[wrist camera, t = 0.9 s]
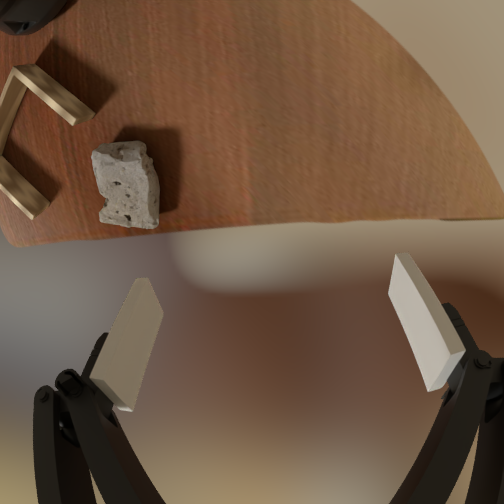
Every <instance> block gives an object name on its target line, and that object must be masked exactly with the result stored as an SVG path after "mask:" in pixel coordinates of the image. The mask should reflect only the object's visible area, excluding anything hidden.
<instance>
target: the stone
mask: <svg viewBox="0 0 504 504" xmlns="http://www.w3.org/2000/svg"><path fill="white" fill-rule="evenodd" d="M146 149H147V148H146V144H144V143H143V142H141V141H129V142H115V143H109V144H106V143H103V144H101V145H100V146H99V147H98V148H97V149H95V150H93V152H92V156H91V158H92V163H93V170H94V174H95V176H96V180H97V185H98V188H99V192H100V194H101V195H103V196H104V197H105V198H106V200H105V203H104V207H103V208H102V210H101V211H100V212H99V216H100V221H101V222H104V223H110V224H114V225H121V226H125V227H140V228H147V229H149V228H151V229H154V228H155V227H157V226H158V224H159V196H160V186H159V180H158V176H157V173H156V171H155V170H154V165H153V164H152V163H153V159H152V158H150V157H148V156H147V155H146Z"/></svg>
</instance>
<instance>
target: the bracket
mask: <svg viewBox="0 0 504 504" xmlns="http://www.w3.org/2000/svg"><path fill="white" fill-rule="evenodd" d="M27 87H28V88H29V89H31V90H32V91H33V92H34V93H35V94H36V95H37V96H39V97H40V98H41V99H42V100H43V101H44V102H45V103H47V104H48V105H49V106H50V107H51V108H52V109H54V110H55V111H56V112H57V113H58V114H59V115H61V116H62V117H63V118H64V119H65V120H66V121H68V122H69V123H70V124H71V125H72V126H73V125H76V124H79V123H82V122H85V121H88V120H91V119H93V117H94V115H95V114H96V113H95V112H93V111H92V110H91V109H90V108H89V107H87V106H86V105H85V104H84V103H82V102H81V101H80V100H79V99H77V98H76V97H75V96H74V95H73V94H71V93H70V92H69V91H68V90H66V89H65V88H64V87H63V86H61V85H60V84H59V83H58V82H57V81H55V80H54V79H53V78H52V77H50V76H49V75H48V74H47V73H45V72H44V71H43V70H42V69H40V68H39V67H38V66H37V65H35V64H27V65H18V66H13V68H12V70H11V73H10V75H9V77H8V79H7V82H6V84H5V87H4V89H3V92H2V94H1V97H0V189H1V190H2V191H3V192H4V193H5V194H6V195H7V196H8V197H9V198H10V199H11V200H12V201H13V202H14V203H15V204H16V205H17V206H18V207H19V208H20V209H21V210H22V211H23V212H24V213H25V214H26V215H27V216H28V217H29V218H30V219H31V220H33V219H34V218H36V217H37V216H38V215H39V214H40V213H42V212H43V211H44V210H45V209H46V208H48V207H49V205H50V202H49V201H48V200H47V199H46V198H45V197H44V196H43V195H42V194H41V193H40V192H38V191H37V190H36V189H35V188H34V187H33V186H32V185H31V184H30V183H29V182H28V181H27V180H26V179H25V178H24V177H23V176H22V175H21V174H20V173H19V172H18V171H17V170H16V169H15V168H14V167H13V166H12V165H11V164H10V163H9V162H8V161H7V160H6V159H5V158H4V157H3V156H2V153H3V149H4V146H5V143H6V140H7V137H8V134H9V131H10V128H11V125H12V123H13V120H14V117H15V115H16V112H17V110H18V107H19V105H20V103H21V100H22V98H23V96H24V93H25V91H26V89H27Z"/></svg>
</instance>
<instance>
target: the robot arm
mask: <svg viewBox="0 0 504 504" xmlns="http://www.w3.org/2000/svg"><path fill="white" fill-rule="evenodd" d="M66 2H67V0H0V30H1V31H3V32H5V33H7V34H9V35H29V34H32V33H34V32H36V31H38V30H40V29H41V28H42V27H44V26H45V25H46V24H48V23H49V22H50V21H51V20H52V19H53V18H54V17H55V16H56V15H57V13H58V12H59V11H60V10H61V9H62V7H63V6H64V4H65V3H66ZM388 295H389V297H390V299H391V301H392V303H393V305H394V308H395V310H396V312H397V314H398V317H399V319H400V321H401V324H402V326H403V328H404V330H405V333H406V335H407V338H408V340H409V343H410V345H411V348H412V350H413V353H414V355H415V358H416V360H417V363H418V366H419V368H420V371H421V374H422V376H423V379H424V382H425V385H426V388H427V391H428V392H429V391H432V390H436V389H439V388H442V387H443V385H444V384H445V383H446V381H447V382H448V384H449V388H448V389H447V391H446V392H445V393H444V395H443V396H442V398H441V399H443V398H444V400H443V402H442V405H441V407H440V410H439V412H438V415H437V417H436V419H435V422H434V424H433V426H432V428H431V430H430V433H429V435H428V437H427V439H426V441H425V443H424V445H423V447H422V449H421V451H420V453H419V455H418V457H417V459H416V461H415V463H414V464H413V466H412V468H411V469H410V471H409V473H408V475H407V476H406V478H405V480H404V481H403V483H402V485H401V486H400V488H399V489H398V491H397V493H396V494H395V496H394V497H393V499H392V500H391V502H390V503H389V504H445V503H446V501H447V499H448V498H449V496H450V494H451V492H452V490H453V488H454V486H455V484H456V482H457V480H458V477H459V475H460V473H461V471H462V469H463V466H464V464H465V461H466V459H467V456H468V454H469V451H470V448H471V446H472V444H473V441H474V437H475V435H476V432H477V429H478V426H479V433H478V441H477V449H476V455H475V461H474V466H473V472H472V476H471V481H470V485H469V489H468V493H467V497H466V501H465V504H504V358H492V357H491V356H490V355H489V354H488V353H487V352H485V351H482V350H479V348H478V347H477V345H476V343H475V341H474V339H473V337H472V336H471V334H470V332H469V331H468V328H467V327H466V326H465V323H464V321H463V320H462V319H461V316H460V315H459V313H458V311H457V310H456V309H455V308H454V307H453V306H452V305H451V304H450V303H444V304H441V303H440V302H439V300H438V298H437V297H436V295H435V293H434V292H433V290H432V288H431V287H430V285H429V284H428V282H427V280H426V279H425V277H424V276H423V274H422V273H421V271H420V269H419V268H418V266H417V265H416V263H415V262H414V261H413V259H412V258H411V256H410V255H409V253H398V254H395V260H394V266H393V272H392V277H391V283H390V288H389V292H388ZM163 315H164V313H163V311H162V308H161V306H160V304H159V302H158V299H157V297H156V295H155V293H154V291H153V288H152V285H151V283H150V281H149V278H136V280H135V282H134V284H133V285H132V287H131V289H130V291H129V293H128V295H127V297H126V299H125V301H124V303H123V305H122V307H121V309H120V311H119V313H118V315H117V317H116V319H115V321H114V323H113V326H112V328H111V330H110V332H109V333H103V334H102V335H101V336H100V337H99V339H98V340H97V342H96V344H95V346H94V350H92V352H91V356H90V357H89V359H88V361H87V363H86V366H85V368H84V370H83V372H82V375H81V377H80V376H79V374H78V373H77V372H76V371H74V370H73V369H67V370H64V371H62V372H61V373H60V374H59V375H58V376H57V378H56V381H55V387H56V388H57V389H58V390H59V391H54V390H53V389H52V388H51V387H50V386H48V385H46V386H42V387H41V388H40V389H39V390H37V392H36V394H35V397H34V413H33V450H34V469H35V480H36V489H37V497H38V503H39V504H97V503H96V499H95V494H94V490H93V486H92V480H91V475H90V471H91V473H92V476H93V478H94V481H95V482H96V485H97V487H98V489H99V491H100V493H101V495H102V498H103V500H104V502H105V503H106V504H166V503H165V502H164V500H163V499H162V497H161V496H160V494H159V493H158V491H157V490H156V488H155V487H154V485H153V484H152V482H151V480H150V479H149V477H148V475H147V474H146V472H145V471H144V469H143V467H142V465H141V464H140V462H139V460H138V458H137V456H136V455H135V453H134V451H133V449H132V447H131V445H130V443H129V441H128V440H127V437H126V436H125V433H124V431H123V430H122V427H121V425H120V423H119V421H118V419H117V417H116V415H115V413H114V411H113V410H112V407H113V404H115V406H116V407H117V408H118V409H119V410H125V411H132V412H133V410H134V406H135V403H136V399H137V396H138V392H139V389H140V385H141V382H142V379H143V376H144V373H145V370H146V366H147V363H148V359H149V357H150V354H151V350H152V348H153V345H154V342H155V338H156V336H157V332H158V329H159V327H160V324H161V321H162V318H163ZM479 423H480V424H479ZM89 469H90V470H89Z"/></svg>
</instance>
